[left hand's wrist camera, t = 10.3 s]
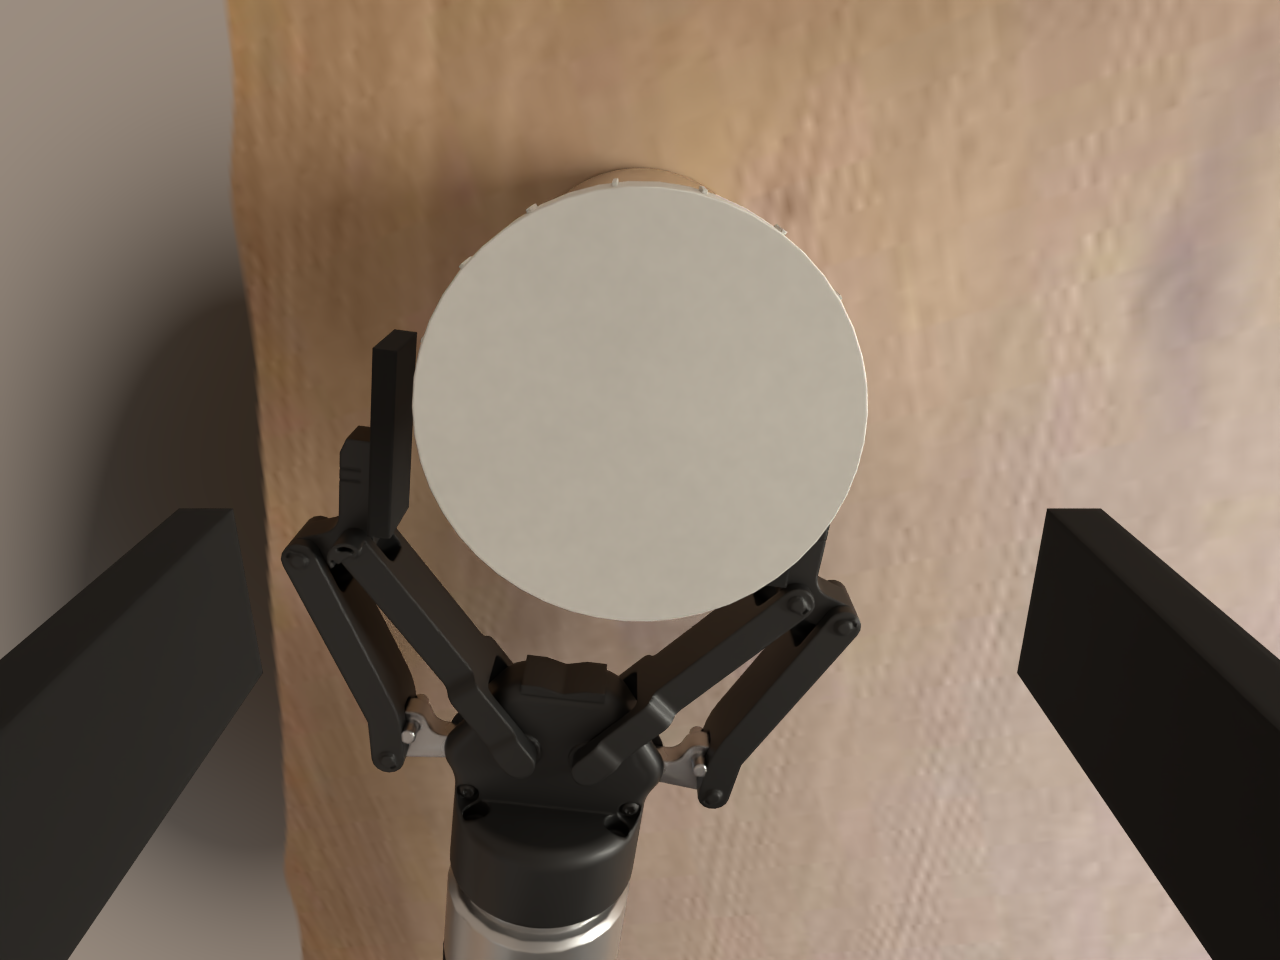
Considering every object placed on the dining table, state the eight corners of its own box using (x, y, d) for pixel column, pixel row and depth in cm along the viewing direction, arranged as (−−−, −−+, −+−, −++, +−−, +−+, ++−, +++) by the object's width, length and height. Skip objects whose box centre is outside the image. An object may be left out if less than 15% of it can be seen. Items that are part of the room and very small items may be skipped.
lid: (818, 605, 24) (831, 639, 22) (426, 577, 24) (411, 609, 22) (890, 201, 20) (911, 208, 19) (424, 161, 20) (405, 164, 18)
